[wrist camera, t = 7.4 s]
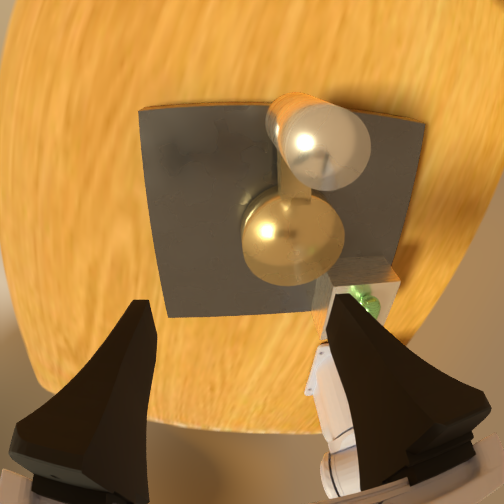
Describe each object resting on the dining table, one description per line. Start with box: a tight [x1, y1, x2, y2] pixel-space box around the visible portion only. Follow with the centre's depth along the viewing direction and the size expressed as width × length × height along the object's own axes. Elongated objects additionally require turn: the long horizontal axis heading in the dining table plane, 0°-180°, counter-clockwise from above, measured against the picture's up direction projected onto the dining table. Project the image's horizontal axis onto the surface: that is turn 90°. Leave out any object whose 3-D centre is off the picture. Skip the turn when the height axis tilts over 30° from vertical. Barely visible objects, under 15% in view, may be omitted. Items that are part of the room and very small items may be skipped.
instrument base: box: [138, 102, 425, 340], centre depth 18 cm, size 15×17×6 cm
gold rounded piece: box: [240, 92, 371, 286], centre depth 15 cm, size 12×6×7 cm, turn 3°
